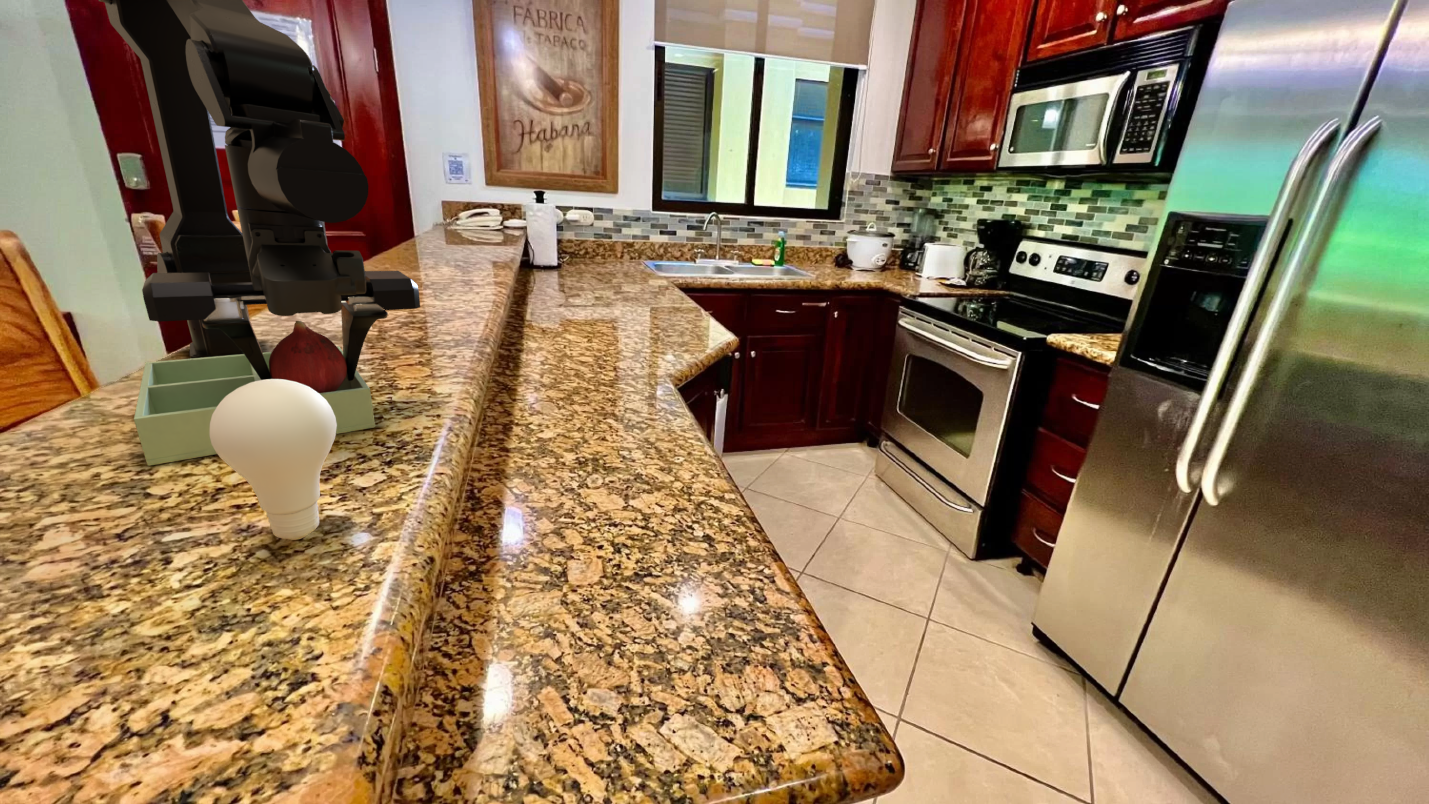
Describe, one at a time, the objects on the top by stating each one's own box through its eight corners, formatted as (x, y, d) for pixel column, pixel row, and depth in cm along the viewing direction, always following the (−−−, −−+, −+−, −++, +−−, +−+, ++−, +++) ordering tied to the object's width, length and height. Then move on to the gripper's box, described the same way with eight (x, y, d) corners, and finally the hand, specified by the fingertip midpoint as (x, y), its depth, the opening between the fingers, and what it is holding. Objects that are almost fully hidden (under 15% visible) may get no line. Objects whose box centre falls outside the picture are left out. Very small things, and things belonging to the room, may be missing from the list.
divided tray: (156, 401, 53) (145, 362, 52) (344, 379, 63) (339, 345, 62) (147, 466, 43) (133, 419, 41) (375, 427, 53) (370, 388, 51)
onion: (365, 397, 55) (354, 318, 52) (320, 419, 49) (306, 332, 47) (310, 389, 55) (296, 311, 52) (260, 410, 50) (242, 324, 47)
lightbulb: (223, 573, 33) (178, 403, 29) (255, 518, 38) (220, 367, 34) (344, 556, 35) (317, 396, 31) (359, 506, 40) (337, 364, 37)
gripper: (110, 212, 35) (172, 436, 40) (430, 224, 47) (444, 396, 52) (124, 198, 42) (175, 388, 48) (396, 212, 54) (411, 363, 60)
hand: (311, 384), depth 52 cm, fingers closed on onion, 6 cm apart
